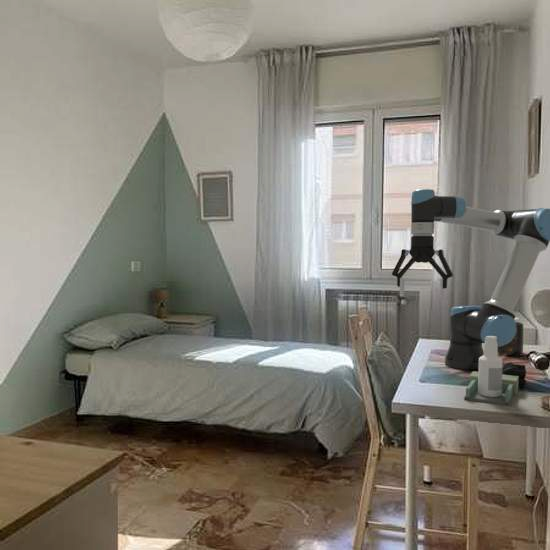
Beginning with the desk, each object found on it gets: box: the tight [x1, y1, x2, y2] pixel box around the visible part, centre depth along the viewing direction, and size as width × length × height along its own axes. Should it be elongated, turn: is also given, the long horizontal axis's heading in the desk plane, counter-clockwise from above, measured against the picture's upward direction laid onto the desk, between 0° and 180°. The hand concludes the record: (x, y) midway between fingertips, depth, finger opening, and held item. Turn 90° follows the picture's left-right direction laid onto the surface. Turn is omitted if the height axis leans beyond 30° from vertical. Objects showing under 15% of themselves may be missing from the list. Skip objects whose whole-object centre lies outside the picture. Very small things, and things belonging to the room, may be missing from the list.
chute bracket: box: [463, 370, 519, 406], centre depth 171 cm, size 20×14×4 cm
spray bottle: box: [477, 336, 503, 397], centre depth 168 cm, size 7×7×18 cm
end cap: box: [502, 361, 527, 390], centre depth 183 cm, size 10×7×7 cm
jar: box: [497, 317, 524, 356], centre depth 234 cm, size 12×12×15 cm
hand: (421, 297), depth 188 cm, fingers open, 13 cm apart
